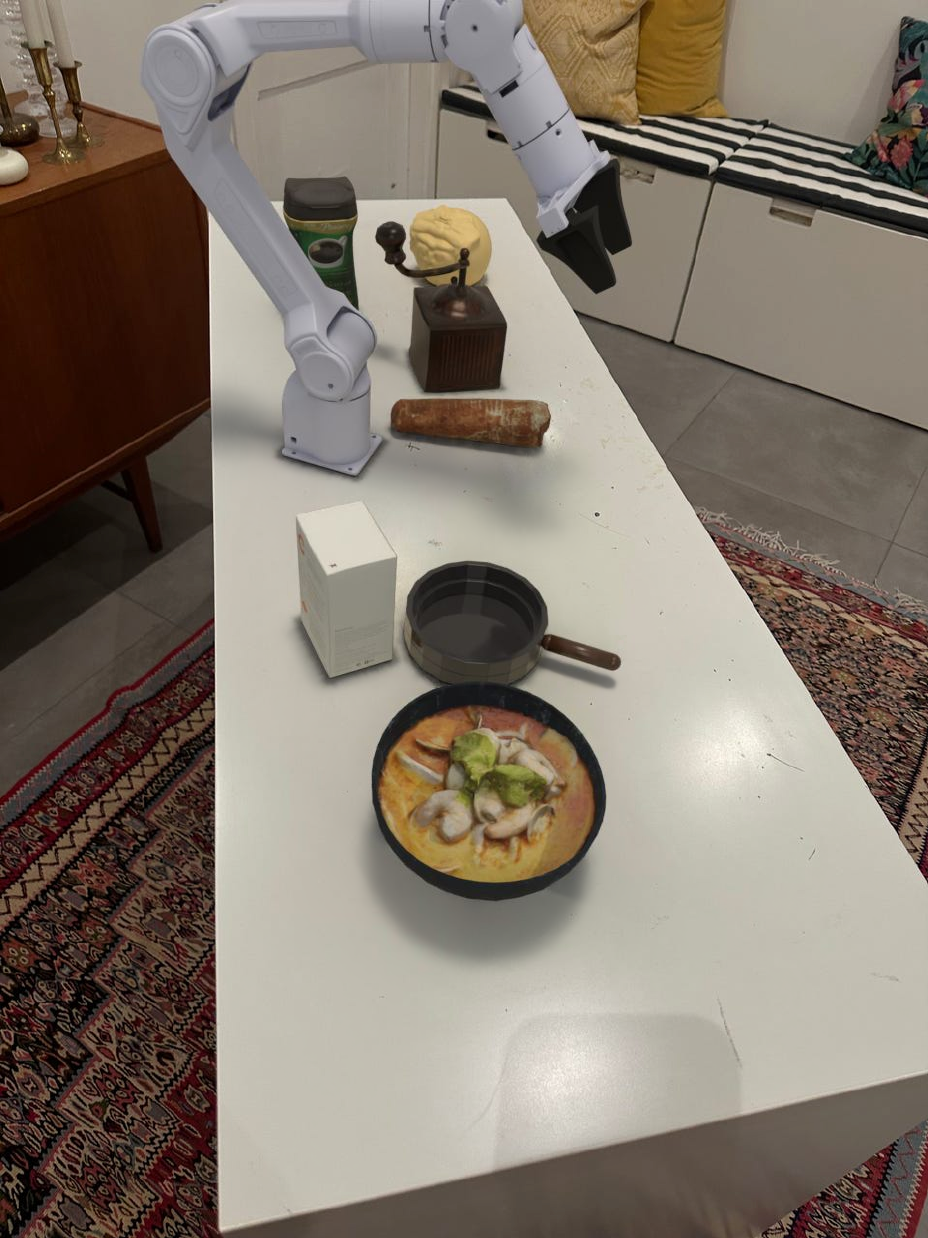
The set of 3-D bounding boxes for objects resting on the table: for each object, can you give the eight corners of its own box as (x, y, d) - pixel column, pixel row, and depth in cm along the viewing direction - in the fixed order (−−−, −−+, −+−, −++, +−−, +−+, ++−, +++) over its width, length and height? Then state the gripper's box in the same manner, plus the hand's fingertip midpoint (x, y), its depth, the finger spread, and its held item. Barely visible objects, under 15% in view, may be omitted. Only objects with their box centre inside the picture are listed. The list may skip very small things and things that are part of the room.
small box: (393, 660, 80) (399, 556, 71) (328, 680, 78) (325, 575, 69) (361, 602, 85) (363, 497, 76) (299, 618, 83) (292, 513, 74)
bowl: (417, 978, 61) (426, 915, 53) (340, 780, 71) (339, 706, 64) (624, 895, 66) (657, 829, 59) (525, 724, 77) (543, 649, 70)
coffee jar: (351, 301, 127) (351, 166, 114) (363, 328, 122) (364, 190, 108) (284, 305, 124) (276, 167, 111) (294, 332, 119) (286, 192, 106)
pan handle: (537, 651, 80) (540, 640, 79) (542, 639, 82) (544, 628, 80) (617, 676, 79) (620, 665, 78) (620, 664, 80) (624, 652, 79)
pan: (383, 665, 80) (384, 636, 77) (432, 575, 89) (435, 546, 86) (519, 710, 78) (526, 681, 75) (556, 612, 87) (563, 584, 84)
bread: (544, 458, 104) (552, 419, 100) (387, 440, 104) (388, 399, 100) (544, 429, 109) (552, 390, 105) (393, 410, 109) (395, 371, 104)
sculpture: (396, 279, 133) (399, 207, 125) (442, 255, 140) (447, 185, 132) (457, 305, 129) (464, 232, 121) (501, 279, 136) (510, 208, 129)
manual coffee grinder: (479, 346, 122) (495, 214, 109) (501, 389, 114) (520, 254, 101) (370, 351, 118) (372, 215, 105) (385, 395, 111) (389, 256, 98)
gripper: (559, 136, 67) (639, 288, 73) (599, 73, 76) (666, 213, 82) (486, 181, 71) (568, 320, 78) (532, 116, 80) (601, 246, 87)
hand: (614, 268), depth 80 cm, fingers open, 7 cm apart
